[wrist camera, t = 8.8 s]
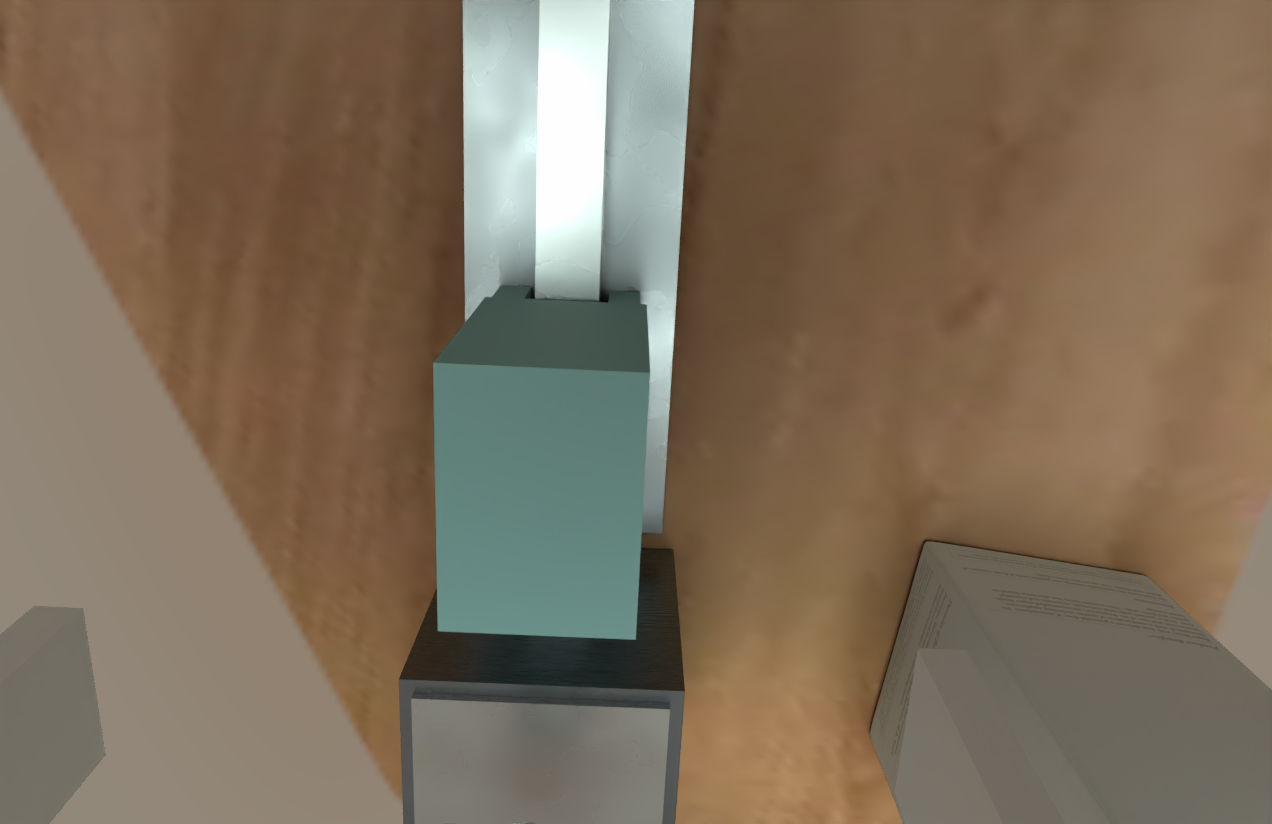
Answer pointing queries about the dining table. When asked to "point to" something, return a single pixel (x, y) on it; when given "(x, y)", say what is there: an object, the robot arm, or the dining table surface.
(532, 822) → the plunger
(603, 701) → the grey button housing
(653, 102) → the rail
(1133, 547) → the dining table surface
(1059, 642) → the supplement box
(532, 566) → the carriage
